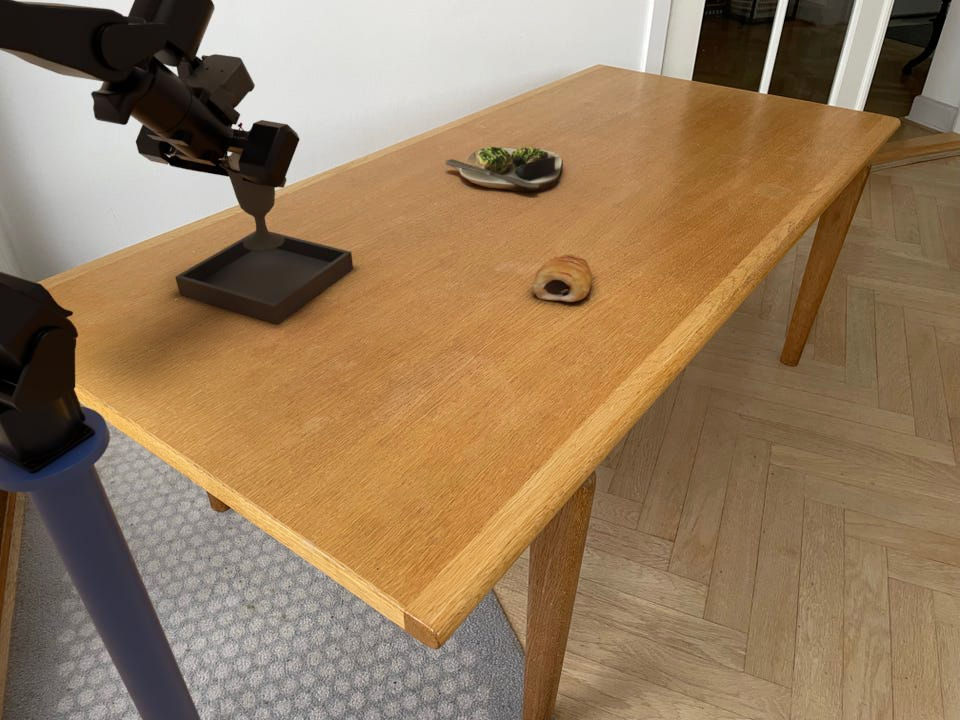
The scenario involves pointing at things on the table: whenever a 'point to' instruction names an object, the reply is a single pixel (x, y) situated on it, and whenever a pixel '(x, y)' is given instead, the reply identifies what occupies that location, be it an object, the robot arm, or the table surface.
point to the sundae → (253, 205)
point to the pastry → (563, 279)
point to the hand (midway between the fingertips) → (261, 178)
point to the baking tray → (265, 277)
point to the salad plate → (511, 168)
